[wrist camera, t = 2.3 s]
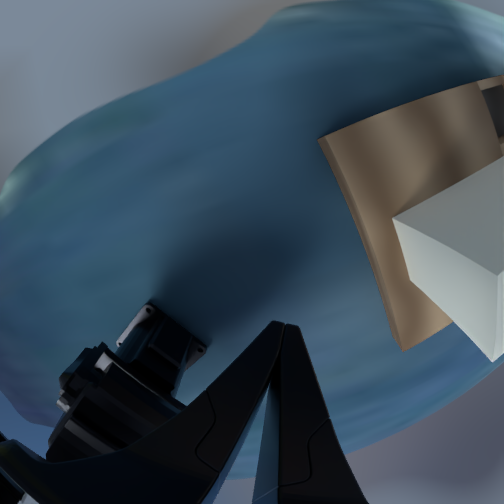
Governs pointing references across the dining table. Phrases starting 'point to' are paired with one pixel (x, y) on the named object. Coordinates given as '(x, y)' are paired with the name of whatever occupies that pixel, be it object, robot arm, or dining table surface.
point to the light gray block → (462, 254)
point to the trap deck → (412, 182)
